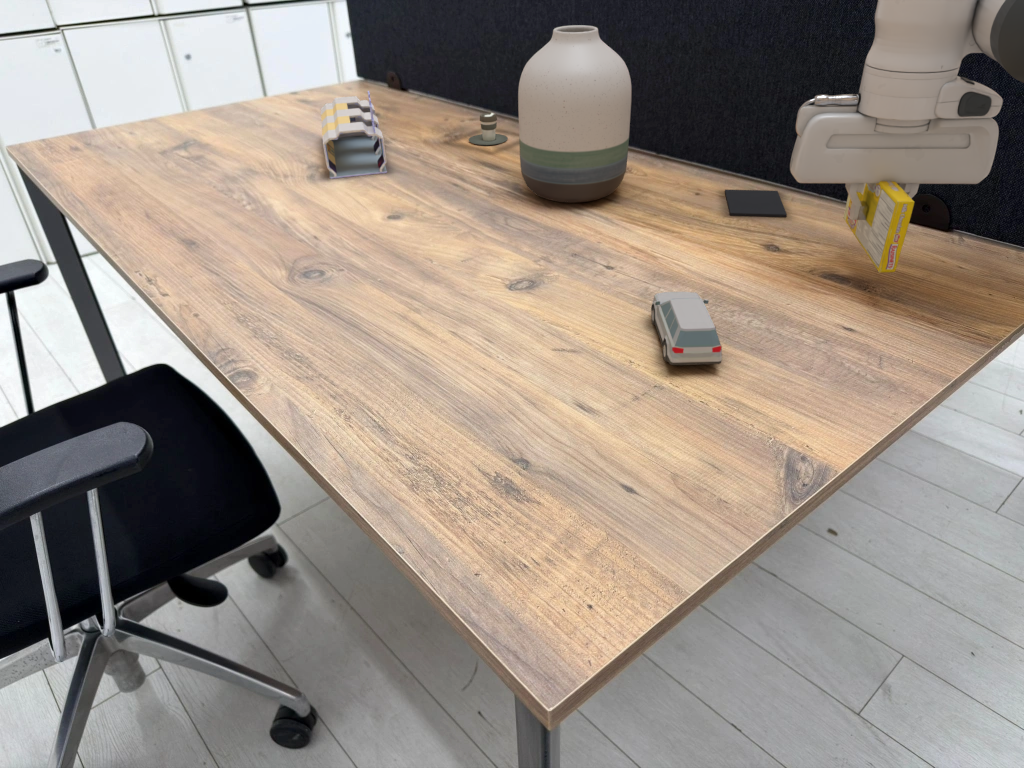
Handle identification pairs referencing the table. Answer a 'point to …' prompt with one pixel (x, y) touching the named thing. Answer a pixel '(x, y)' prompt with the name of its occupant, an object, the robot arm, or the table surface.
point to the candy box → (882, 223)
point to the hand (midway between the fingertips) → (873, 218)
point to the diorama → (352, 138)
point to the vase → (574, 117)
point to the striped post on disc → (488, 131)
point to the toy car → (685, 329)
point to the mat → (755, 203)
